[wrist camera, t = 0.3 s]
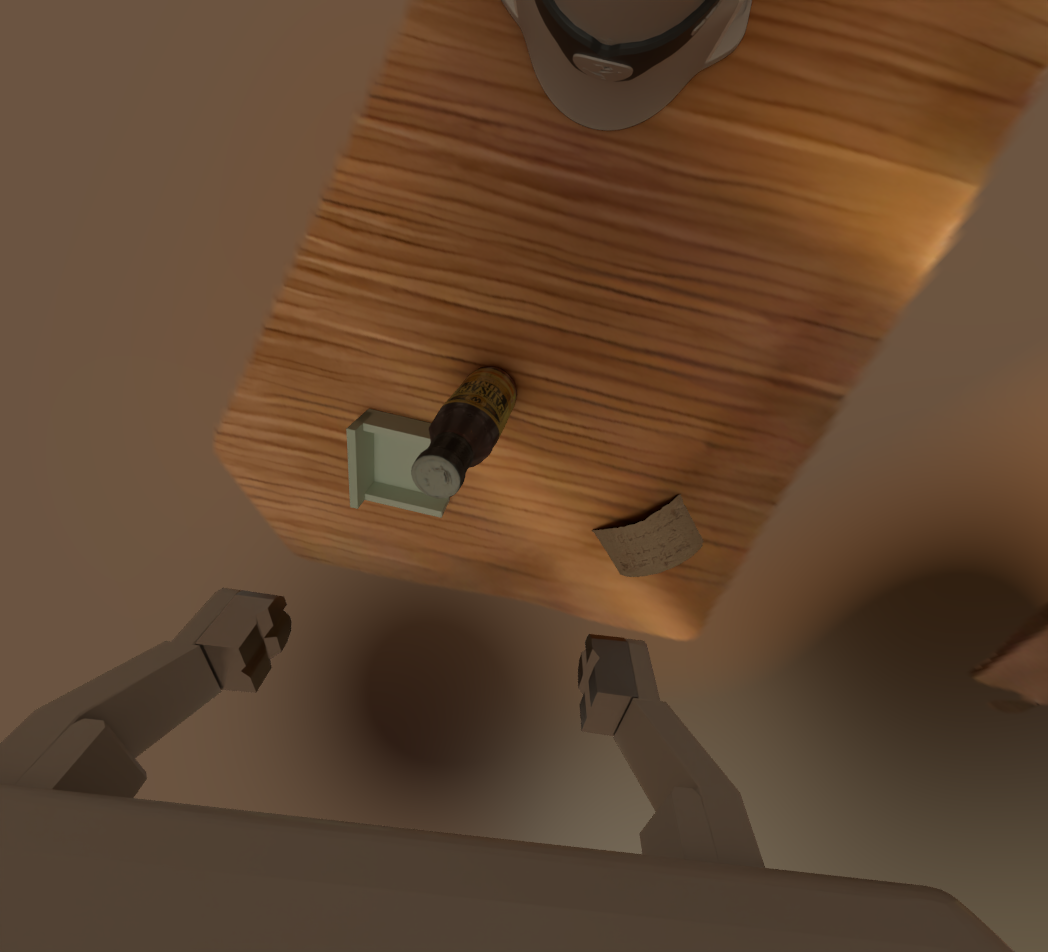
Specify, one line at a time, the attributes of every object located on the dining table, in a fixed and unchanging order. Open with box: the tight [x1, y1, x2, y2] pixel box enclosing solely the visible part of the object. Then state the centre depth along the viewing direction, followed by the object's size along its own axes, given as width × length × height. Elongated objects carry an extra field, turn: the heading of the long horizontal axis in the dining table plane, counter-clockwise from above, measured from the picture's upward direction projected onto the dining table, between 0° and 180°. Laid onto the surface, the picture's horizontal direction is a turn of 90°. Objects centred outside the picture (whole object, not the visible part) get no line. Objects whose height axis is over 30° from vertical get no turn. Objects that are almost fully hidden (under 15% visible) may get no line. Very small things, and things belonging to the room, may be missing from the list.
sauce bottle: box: [411, 367, 517, 499], centre depth 40 cm, size 6×6×20 cm
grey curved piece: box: [593, 494, 703, 577], centre depth 56 cm, size 14×10×3 cm
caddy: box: [347, 409, 450, 518], centre depth 52 cm, size 12×12×6 cm
